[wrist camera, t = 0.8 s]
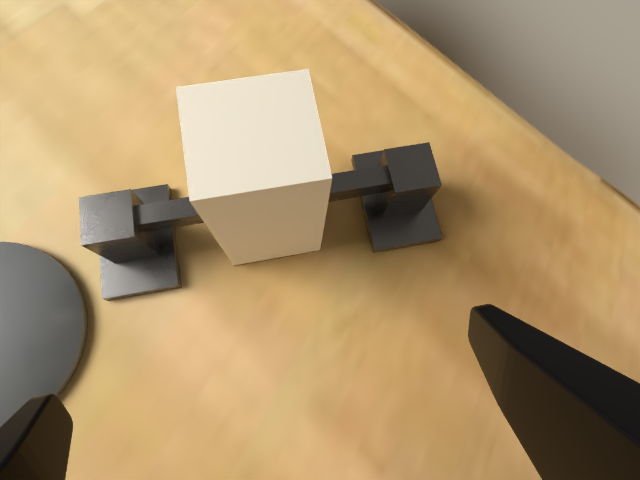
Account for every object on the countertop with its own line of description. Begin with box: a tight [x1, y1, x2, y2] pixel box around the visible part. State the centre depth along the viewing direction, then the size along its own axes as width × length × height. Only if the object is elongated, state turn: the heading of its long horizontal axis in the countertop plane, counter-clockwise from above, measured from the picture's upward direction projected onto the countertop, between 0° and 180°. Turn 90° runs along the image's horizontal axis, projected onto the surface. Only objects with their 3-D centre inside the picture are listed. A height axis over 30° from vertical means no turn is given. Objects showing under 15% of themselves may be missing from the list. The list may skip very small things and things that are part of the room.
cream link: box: [176, 69, 332, 266], centre depth 20 cm, size 5×5×10 cm
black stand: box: [79, 143, 442, 300], centre depth 23 cm, size 6×19×4 cm, turn 101°
